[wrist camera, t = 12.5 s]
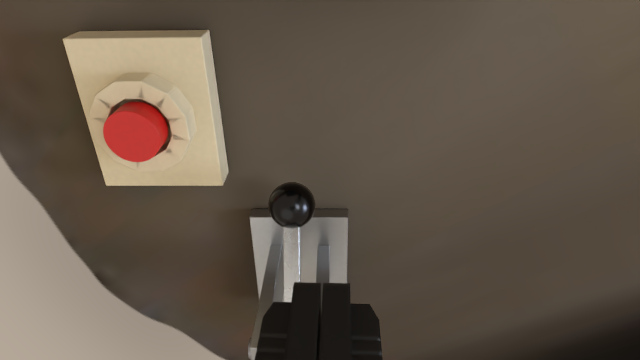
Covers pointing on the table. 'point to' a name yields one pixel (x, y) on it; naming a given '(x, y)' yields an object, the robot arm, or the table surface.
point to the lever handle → (291, 227)
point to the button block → (153, 101)
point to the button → (135, 131)
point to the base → (316, 257)
